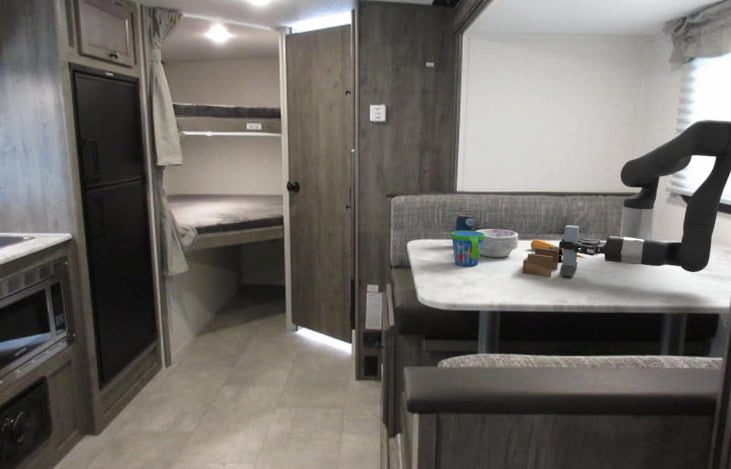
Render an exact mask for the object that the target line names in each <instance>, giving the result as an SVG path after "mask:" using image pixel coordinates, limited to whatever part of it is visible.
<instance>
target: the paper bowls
mask: <svg viewBox="0 0 731 469" xmlns="http://www.w3.org/2000/svg"><path fill="white" fill-rule="evenodd" d="M476 231H477V232H482V233H484V235H485V238H484V240H483V242H482V248H481V253H480V255H482V256H485V257H490V258H505V257H508V256H510V255H511V253H512V251H513V250H516V249H517V248H518V244H519V233H517V231H516V232H515V231H513V230H508V229H498V228H485V229H478V230H476Z"/></svg>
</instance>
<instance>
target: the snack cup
mask: <svg viewBox="0 0 731 469" xmlns="http://www.w3.org/2000/svg"><path fill="white" fill-rule="evenodd" d="M450 237H451V240H452V250H453V257H454V263H455V264H457V265H459V266H463V267H472V266H477V265H478V264H479V261H480V258H481V257H480V256H481V254H480V253H481V248H482V242H483V240H484V238H485V235H484V233H482V232H477V230H475V231H456V230H455V231H451V233H450Z"/></svg>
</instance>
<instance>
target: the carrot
mask: <svg viewBox="0 0 731 469" xmlns="http://www.w3.org/2000/svg"><path fill="white" fill-rule="evenodd" d="M536 247H537V248H545V249H549V247H559V245H558V246H557V245H554V244H552V243H549V242H546V241H544V240H541V239H533V240H532V241H531V243H530V248H531V250H532V251H535V248H536ZM562 256H563V249H562ZM577 258H581V259H586V256H585V257H584V255H583V256H582V255H580V254H579V253H577Z"/></svg>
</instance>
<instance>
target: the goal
mask: <svg viewBox="0 0 731 469" xmlns="http://www.w3.org/2000/svg"><path fill="white" fill-rule="evenodd" d="M558 257H559V250H554V249H545V248H537V247H536V248H535V250H534V253H533V252H531V253H528V254H527V257H525V258H524V259H523V262H522V263H523V264H522V274H527V275H534V276H541V277H547V278H551V277H552V270H558V267H559V263H558Z"/></svg>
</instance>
